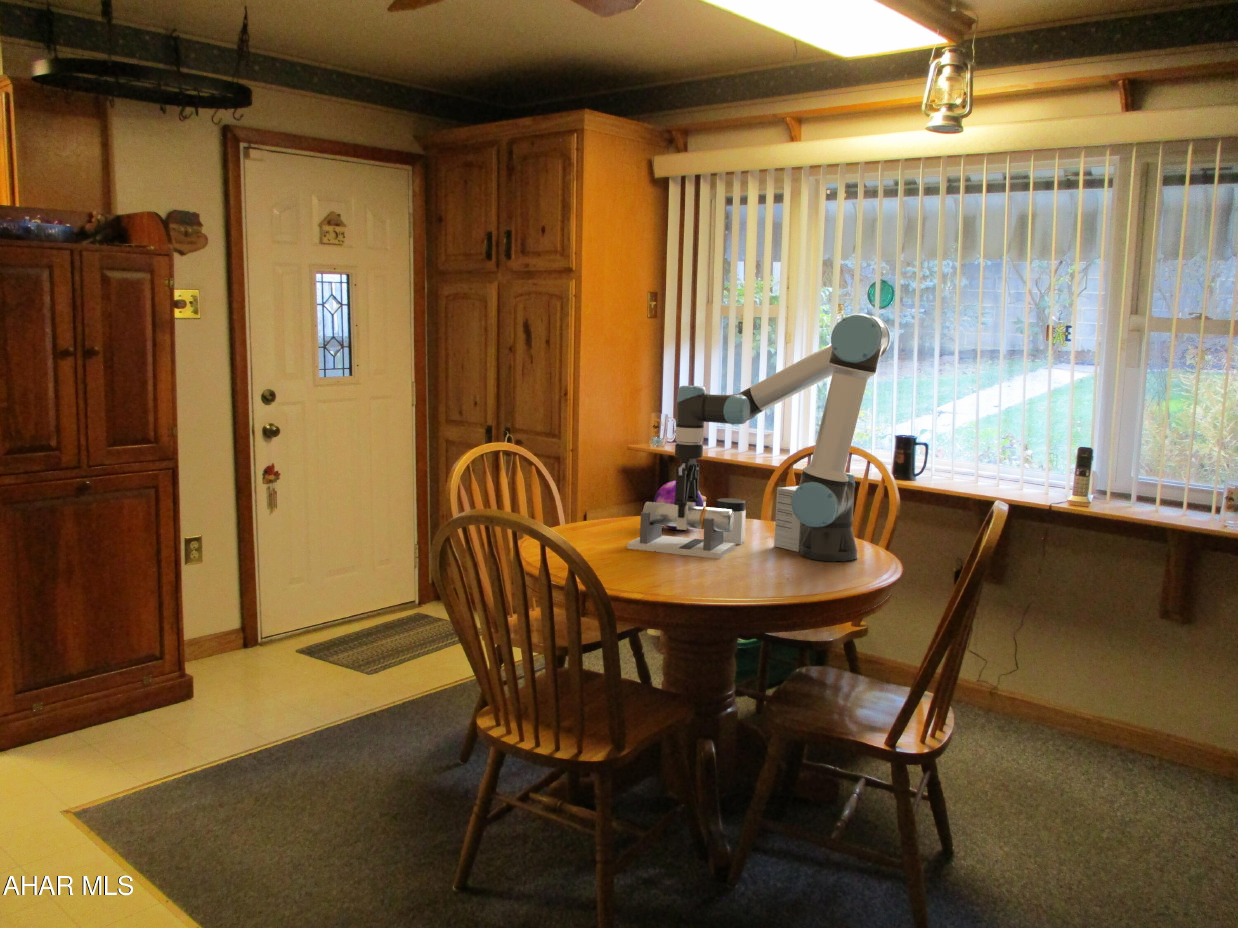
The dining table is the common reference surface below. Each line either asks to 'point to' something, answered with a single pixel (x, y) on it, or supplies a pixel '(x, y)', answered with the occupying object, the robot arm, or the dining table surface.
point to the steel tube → (690, 516)
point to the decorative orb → (672, 497)
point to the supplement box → (787, 522)
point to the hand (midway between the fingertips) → (685, 527)
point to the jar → (739, 519)
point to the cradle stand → (681, 541)
